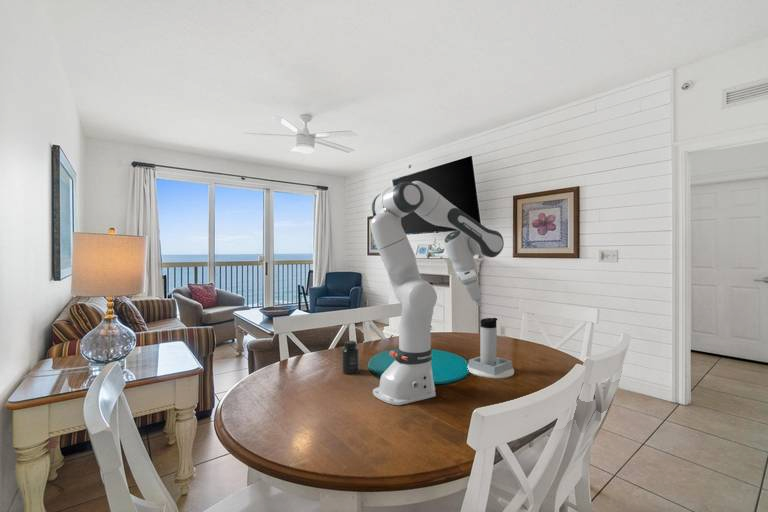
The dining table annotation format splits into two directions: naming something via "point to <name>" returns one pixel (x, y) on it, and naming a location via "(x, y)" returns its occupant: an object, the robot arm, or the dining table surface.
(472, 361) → the stand
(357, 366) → the supplement bottle
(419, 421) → the dining table surface
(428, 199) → the robot arm
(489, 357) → the travel mug
